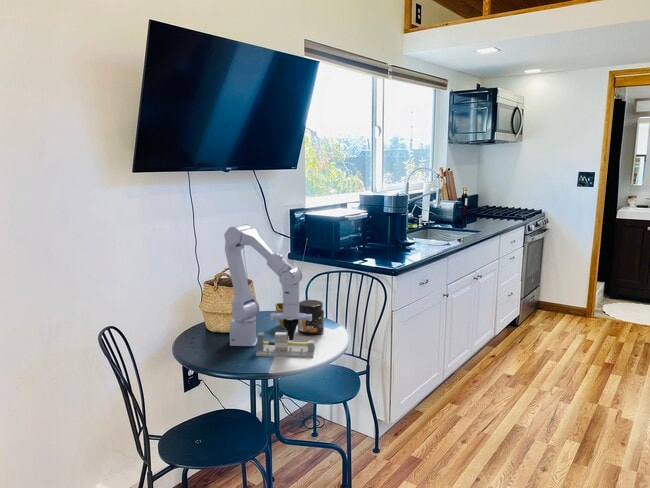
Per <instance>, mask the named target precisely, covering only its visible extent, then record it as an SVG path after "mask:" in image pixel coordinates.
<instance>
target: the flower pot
mask: <svg viewBox="0 0 650 488" xmlns="http://www.w3.org/2000/svg"><path fill="white" fill-rule="evenodd" d="M275 313H283V302H277V303H275ZM277 321H278V323H279V325H280V326H281V328H282V329H285V330H286V328H285V326H284V324H283V321H284V320H277Z"/></svg>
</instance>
